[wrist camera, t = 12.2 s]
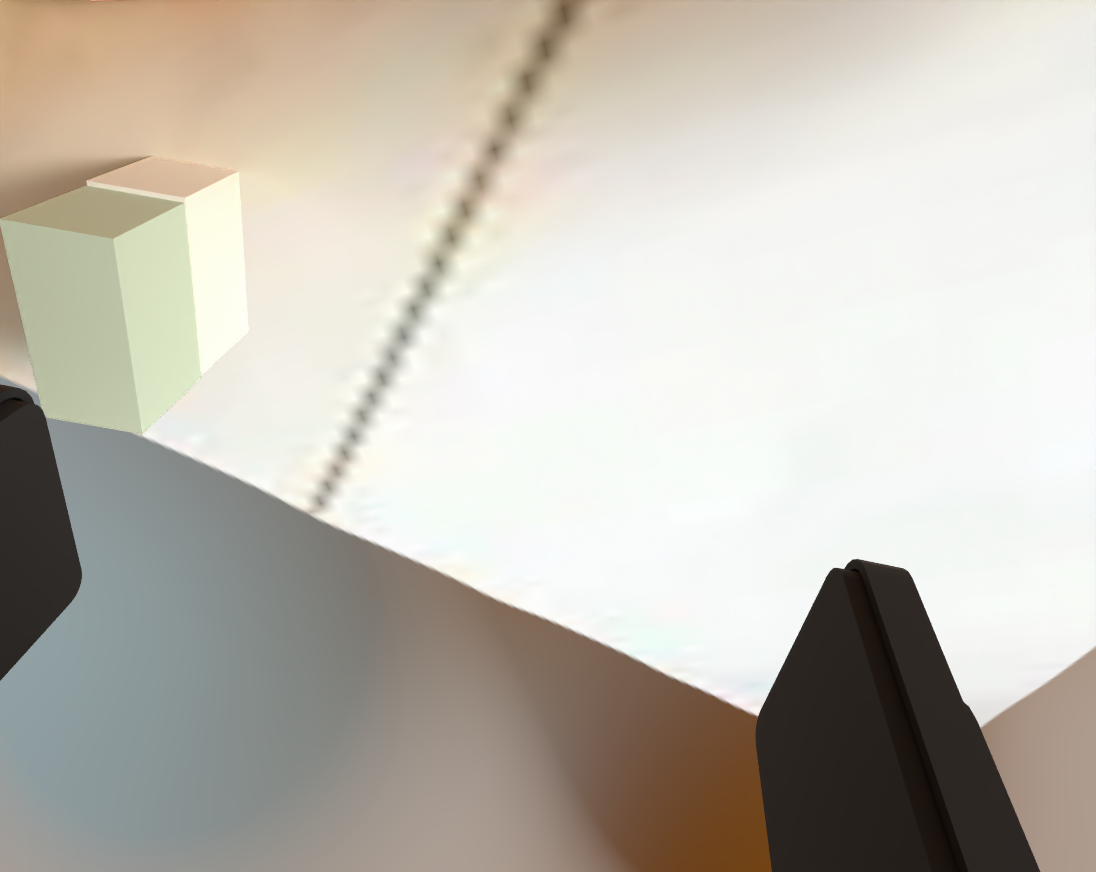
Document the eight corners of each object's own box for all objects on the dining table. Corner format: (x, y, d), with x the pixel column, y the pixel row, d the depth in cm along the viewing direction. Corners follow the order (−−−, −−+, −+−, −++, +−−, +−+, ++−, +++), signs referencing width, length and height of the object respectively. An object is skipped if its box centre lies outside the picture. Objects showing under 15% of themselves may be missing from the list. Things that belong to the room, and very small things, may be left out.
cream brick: (152, 155, 35) (86, 180, 31) (238, 170, 35) (185, 197, 31) (171, 317, 39) (115, 359, 35) (248, 331, 39) (202, 374, 35)
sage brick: (86, 185, 31) (-2, 218, 26) (184, 202, 31) (113, 239, 26) (114, 363, 35) (43, 416, 30) (201, 378, 35) (142, 434, 31)
